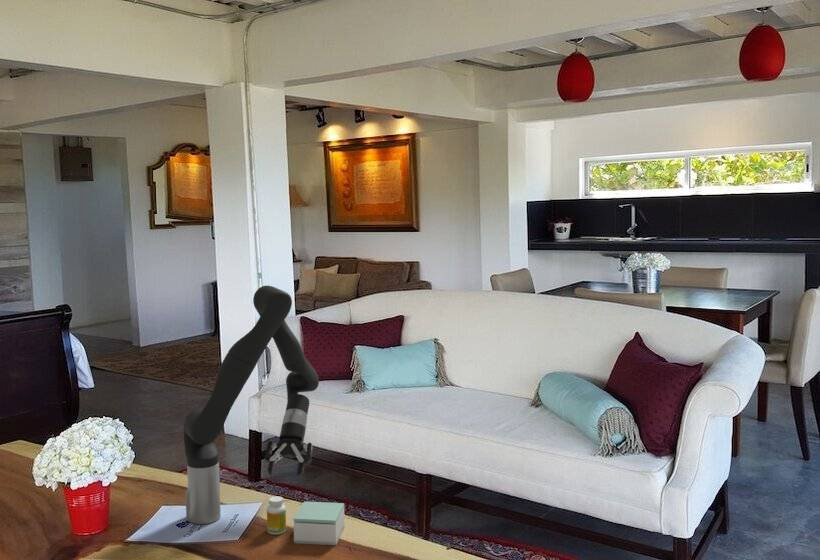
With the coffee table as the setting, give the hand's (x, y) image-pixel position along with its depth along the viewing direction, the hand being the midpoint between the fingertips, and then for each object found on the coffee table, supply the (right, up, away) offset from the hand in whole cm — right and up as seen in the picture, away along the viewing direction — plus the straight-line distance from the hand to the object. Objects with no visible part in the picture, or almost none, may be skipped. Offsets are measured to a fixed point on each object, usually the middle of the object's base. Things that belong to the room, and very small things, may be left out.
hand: (284, 475), depth 227 cm
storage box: (+12, -14, -10) cm, 21 cm away
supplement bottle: (-1, -14, -8) cm, 16 cm away
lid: (+12, -8, -11) cm, 18 cm away
